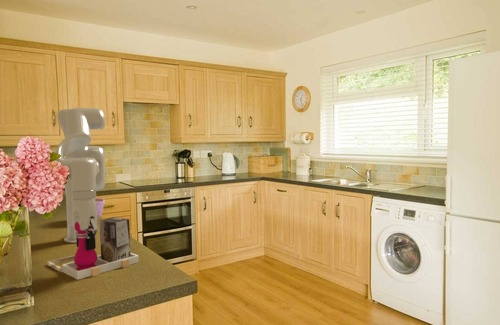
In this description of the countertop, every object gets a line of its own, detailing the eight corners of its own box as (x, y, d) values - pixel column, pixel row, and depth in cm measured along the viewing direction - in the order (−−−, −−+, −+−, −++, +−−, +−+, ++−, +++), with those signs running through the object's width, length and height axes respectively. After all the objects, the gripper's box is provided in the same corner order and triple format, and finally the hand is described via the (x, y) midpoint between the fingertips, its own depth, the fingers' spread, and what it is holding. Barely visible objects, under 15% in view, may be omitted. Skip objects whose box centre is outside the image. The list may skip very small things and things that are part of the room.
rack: (62, 271, 128) (62, 264, 128) (122, 256, 145) (122, 249, 145) (79, 280, 120) (78, 272, 120) (140, 262, 137) (140, 256, 137)
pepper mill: (71, 272, 128) (68, 213, 127) (93, 266, 133) (90, 210, 132) (79, 277, 123) (76, 216, 122) (101, 271, 128) (98, 213, 127)
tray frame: (46, 264, 136) (46, 261, 136) (78, 257, 144) (78, 254, 144) (60, 271, 128) (60, 268, 128) (92, 263, 137) (92, 260, 137)
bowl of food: (66, 220, 214) (66, 199, 214) (104, 216, 223) (103, 197, 222) (66, 227, 196) (65, 205, 195) (106, 223, 205) (106, 202, 204)
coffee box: (131, 262, 137) (130, 218, 136) (117, 267, 132) (115, 222, 131) (114, 258, 142) (113, 216, 141) (100, 263, 136) (98, 219, 136)
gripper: (61, 194, 130) (64, 246, 131) (84, 198, 119) (87, 255, 120) (83, 192, 136) (85, 241, 137) (107, 196, 124) (109, 249, 125)
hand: (86, 247), depth 128 cm, fingers open, 5 cm apart
